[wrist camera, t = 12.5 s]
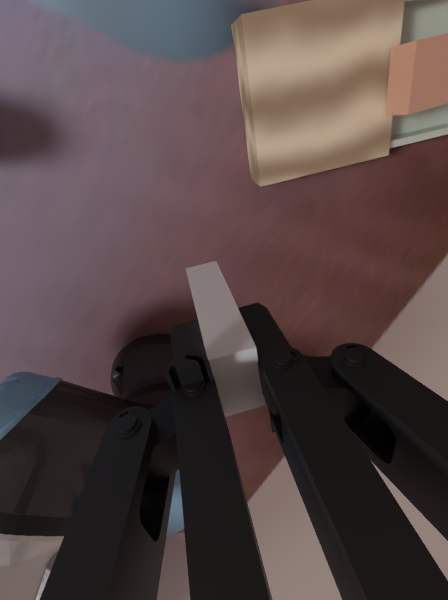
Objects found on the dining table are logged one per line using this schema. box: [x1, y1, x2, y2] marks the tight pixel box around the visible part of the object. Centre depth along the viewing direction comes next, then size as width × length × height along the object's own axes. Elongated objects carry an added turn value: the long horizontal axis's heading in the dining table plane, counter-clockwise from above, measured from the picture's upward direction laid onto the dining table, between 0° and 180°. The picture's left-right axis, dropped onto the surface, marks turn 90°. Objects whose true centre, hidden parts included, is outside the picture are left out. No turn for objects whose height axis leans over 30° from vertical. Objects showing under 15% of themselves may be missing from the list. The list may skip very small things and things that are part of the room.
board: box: [231, 0, 405, 186], centre depth 33 cm, size 15×16×4 cm
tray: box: [389, 0, 448, 148], centre depth 35 cm, size 14×12×3 cm
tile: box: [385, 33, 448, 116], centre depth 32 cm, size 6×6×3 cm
